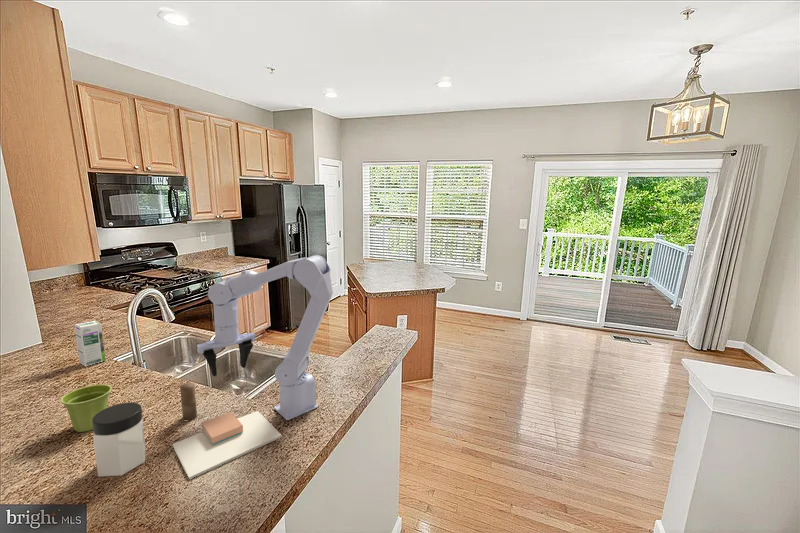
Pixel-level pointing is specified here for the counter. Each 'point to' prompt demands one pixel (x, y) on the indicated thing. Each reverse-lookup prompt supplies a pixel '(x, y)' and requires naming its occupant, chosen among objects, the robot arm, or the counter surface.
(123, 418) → the jar
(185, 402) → the pestle
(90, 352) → the syrup box
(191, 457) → the board
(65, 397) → the plant pot
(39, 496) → the counter surface
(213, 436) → the tile
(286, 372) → the robot arm
